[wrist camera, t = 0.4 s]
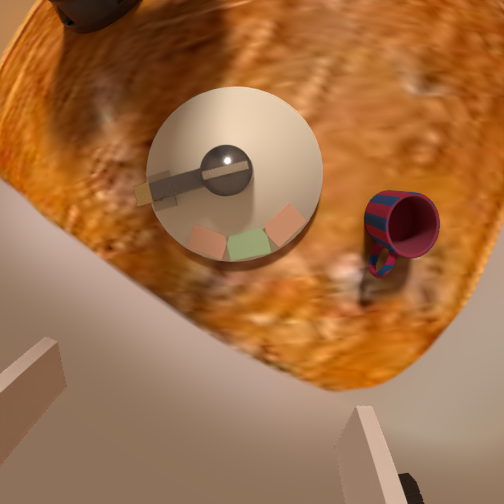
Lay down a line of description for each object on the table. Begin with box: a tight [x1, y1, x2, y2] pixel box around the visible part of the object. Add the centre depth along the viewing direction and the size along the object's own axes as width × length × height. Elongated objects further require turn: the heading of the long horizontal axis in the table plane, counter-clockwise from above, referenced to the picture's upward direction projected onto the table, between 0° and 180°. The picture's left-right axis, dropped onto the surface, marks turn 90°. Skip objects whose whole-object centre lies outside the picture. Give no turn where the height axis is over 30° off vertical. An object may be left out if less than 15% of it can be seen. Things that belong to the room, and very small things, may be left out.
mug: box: [364, 190, 440, 278], centre depth 30 cm, size 7×10×7 cm
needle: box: [133, 145, 254, 207], centre depth 29 cm, size 12×5×4 cm, turn 103°
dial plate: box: [146, 87, 323, 262], centre depth 32 cm, size 20×20×2 cm
